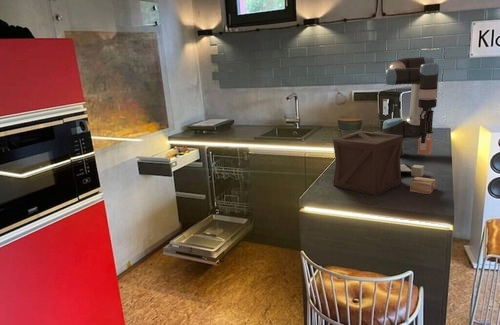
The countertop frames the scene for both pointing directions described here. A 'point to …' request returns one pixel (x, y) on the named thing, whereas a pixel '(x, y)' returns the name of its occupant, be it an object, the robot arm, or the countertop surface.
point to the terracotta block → (428, 149)
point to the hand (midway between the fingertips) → (424, 148)
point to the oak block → (422, 185)
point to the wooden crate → (368, 162)
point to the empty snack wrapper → (405, 168)
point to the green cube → (417, 170)
